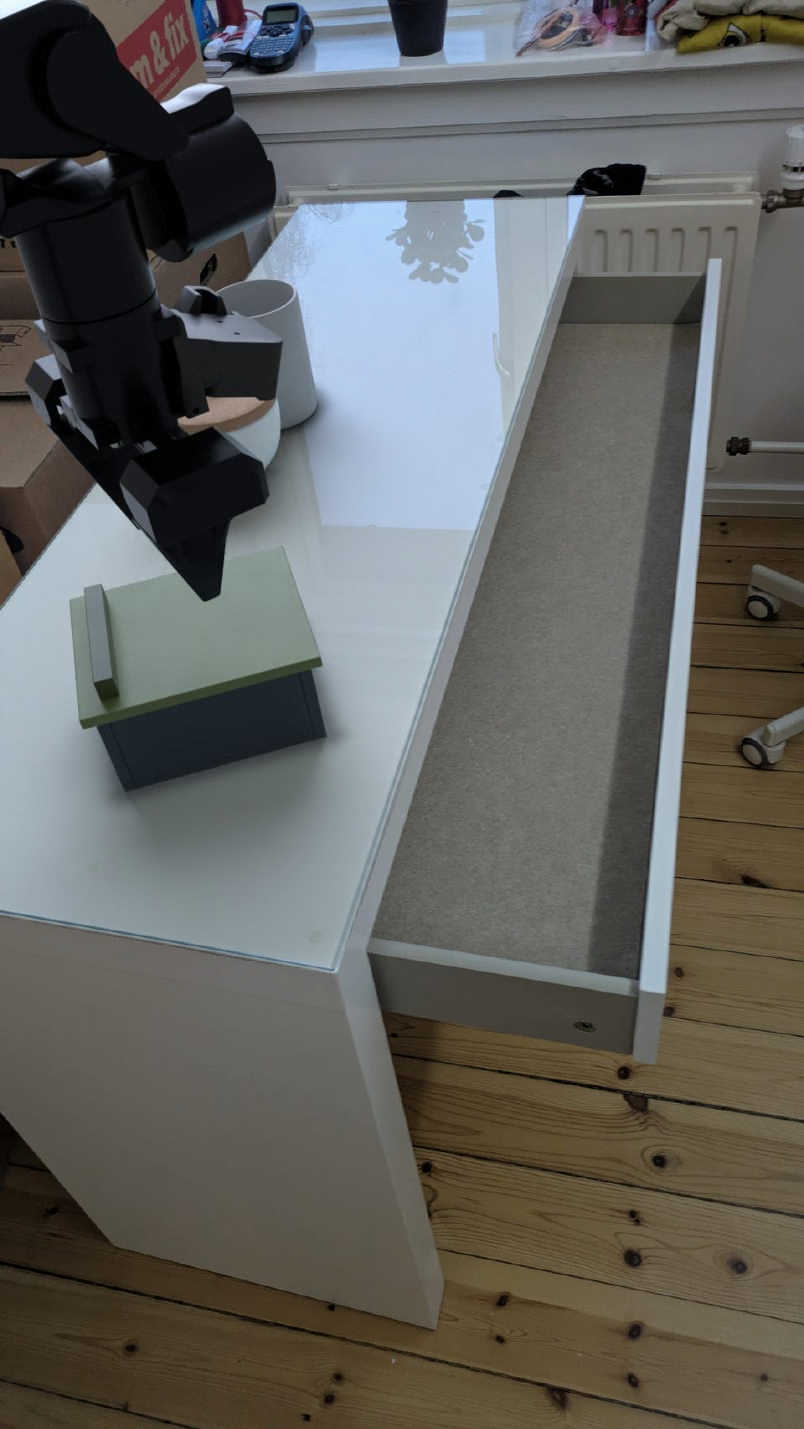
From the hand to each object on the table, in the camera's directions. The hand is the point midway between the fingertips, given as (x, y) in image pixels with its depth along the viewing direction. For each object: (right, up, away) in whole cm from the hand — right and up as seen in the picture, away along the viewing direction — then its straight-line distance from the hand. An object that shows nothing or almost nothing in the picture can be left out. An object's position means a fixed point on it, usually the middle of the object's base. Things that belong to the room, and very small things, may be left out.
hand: (177, 560), depth 64 cm
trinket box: (-2, +13, +34) cm, 37 cm away
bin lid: (-1, -4, +8) cm, 9 cm away
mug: (+1, +21, +43) cm, 48 cm away
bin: (0, -8, +12) cm, 15 cm away
